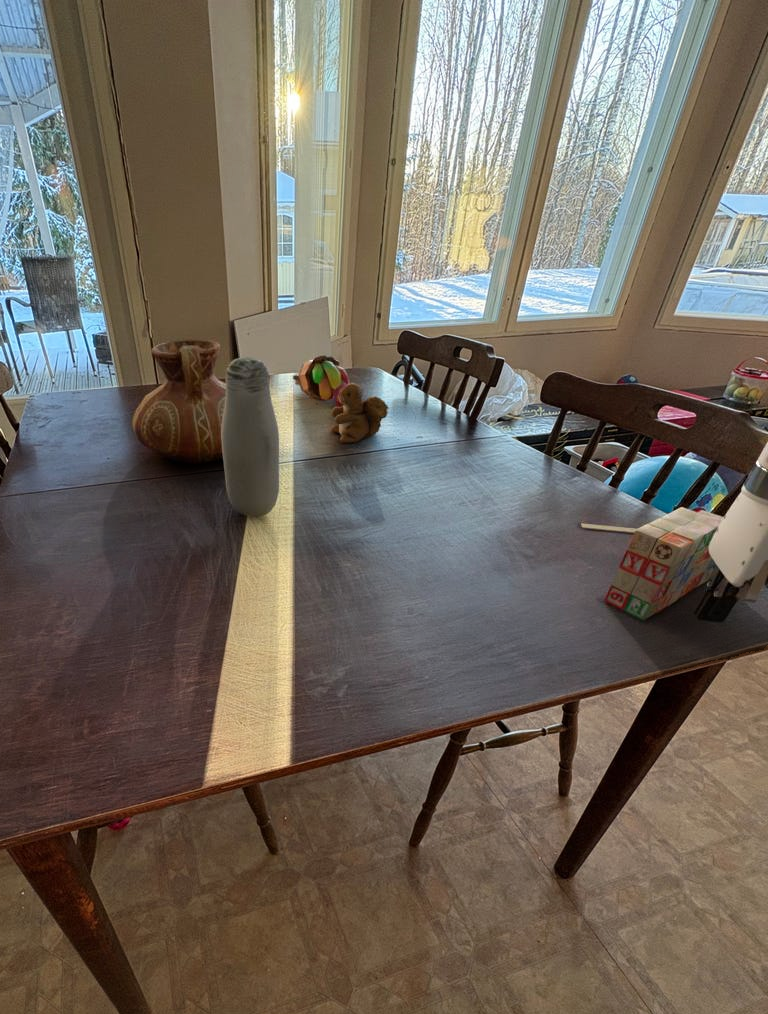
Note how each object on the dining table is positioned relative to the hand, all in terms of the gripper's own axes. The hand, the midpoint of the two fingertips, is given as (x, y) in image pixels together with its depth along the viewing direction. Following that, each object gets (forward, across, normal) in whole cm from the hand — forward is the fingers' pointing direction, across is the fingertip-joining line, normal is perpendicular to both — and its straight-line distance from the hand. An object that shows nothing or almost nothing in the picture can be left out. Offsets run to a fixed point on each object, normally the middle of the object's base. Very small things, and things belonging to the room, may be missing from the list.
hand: (707, 617), depth 70 cm
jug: (+5, +57, +96) cm, 112 cm away
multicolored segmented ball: (+5, +110, +74) cm, 133 cm away
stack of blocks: (+5, +14, 0) cm, 15 cm away
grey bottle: (+5, +25, +71) cm, 75 cm away
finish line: (+4, +34, 0) cm, 34 cm away
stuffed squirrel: (+5, +75, +58) cm, 95 cm away
